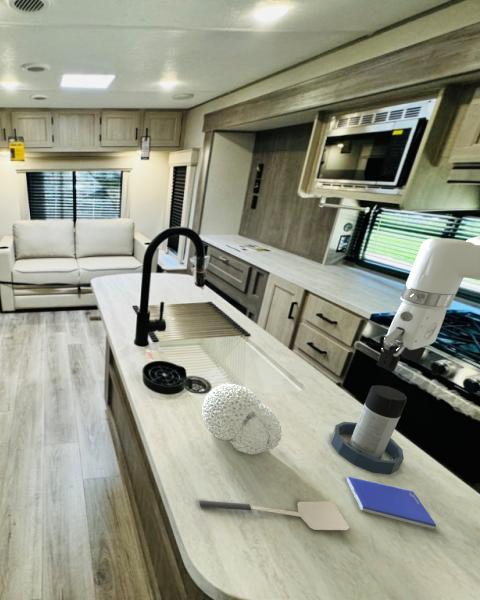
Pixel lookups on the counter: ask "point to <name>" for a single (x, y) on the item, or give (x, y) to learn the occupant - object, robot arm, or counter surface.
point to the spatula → (297, 513)
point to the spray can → (377, 420)
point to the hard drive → (390, 502)
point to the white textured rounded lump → (241, 419)
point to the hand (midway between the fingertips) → (397, 363)
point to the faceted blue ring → (362, 459)
